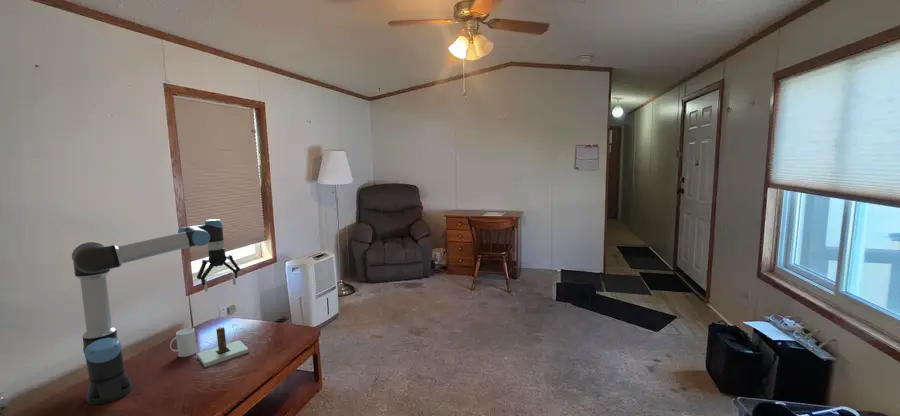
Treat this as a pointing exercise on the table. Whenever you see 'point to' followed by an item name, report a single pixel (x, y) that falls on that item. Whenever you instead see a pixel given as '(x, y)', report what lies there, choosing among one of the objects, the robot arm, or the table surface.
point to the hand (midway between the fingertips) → (220, 287)
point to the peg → (221, 340)
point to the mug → (185, 342)
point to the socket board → (213, 357)
